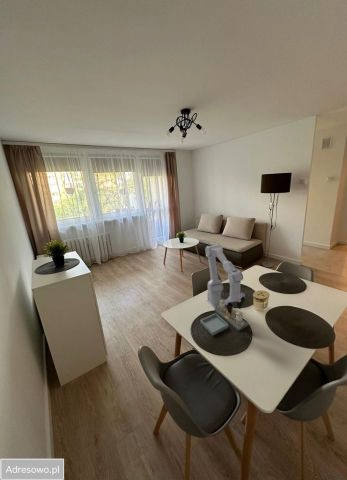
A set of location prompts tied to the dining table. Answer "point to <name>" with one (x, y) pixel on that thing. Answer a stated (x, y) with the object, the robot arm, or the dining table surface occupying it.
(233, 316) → the fuse block
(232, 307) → the marked fuse
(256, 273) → the dining table surface
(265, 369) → the dining table surface
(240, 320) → the fuse
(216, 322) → the tray
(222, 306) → the fuse
